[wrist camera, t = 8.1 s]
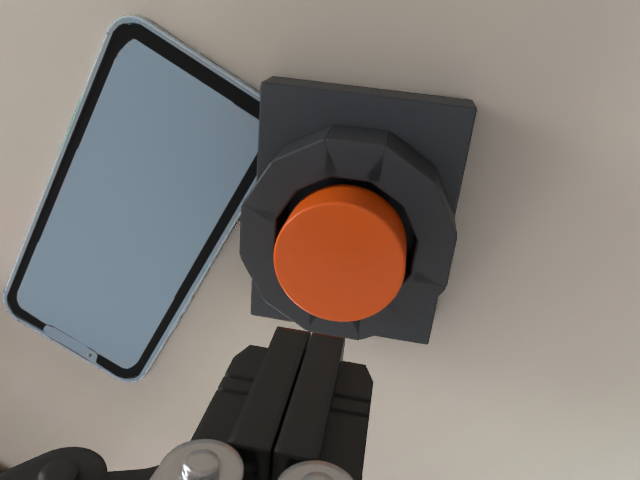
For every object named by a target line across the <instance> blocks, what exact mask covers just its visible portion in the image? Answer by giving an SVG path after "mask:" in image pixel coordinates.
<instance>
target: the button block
mask: <svg viewBox="0 0 640 480" xmlns="http://www.w3.org/2000/svg"><path fill="white" fill-rule="evenodd" d="M476 112H477V109H476V106H475V104H474V102H473V101H472V100H467V99H459V98H451V97H442V96H434V95H426V94H417V93H409V92H400V91H392V90H384V89H375V88H367V87H359V86H350V85H342V84H333V83H325V82H317V81H308V80H300V79H292V78H283V77H275V76H272V77H270V78H268V79H267V80H265V81H263V82H261V90H260V113H259V135H258V158H257V180H256V183H255V185H254V186H253V188H252V189H251V191H250V192H249V194H248V195H247V196H246V198H245V199H244V201H243V204H242V205H241V225H240V255H241V256H240V257H241V259H242V261H243V263H244V265H245V267H246V268H247V270H248V272H249V274H250V276H251V278H252V293H251V315H256V316H262V317H268V318H273V319H279V320H285V321H291V322H295V323H296V324H298V325H299V326H301V327H302V328H303V329H305V330H307V331H309V332H314V333H320V334H326V335H332V336H338V337H343V338H349V339H355V340H359V339H364V338H368V337H371V336H380V337H385V338H391V339H397V340H403V341H409V342H415V343H421V344H428V343H429V338H430V333H431V329H432V324H433V319H434V314H435V309H436V305H437V300H438V296H439V295H440V294H441V293H442V292H443V291H444V290H445V287H446V286H447V283H448V278H449V273H450V269H451V264H452V259H453V255H454V250H455V245H456V241H457V231H456V225H455V213H456V208H457V203H458V198H459V194H460V189H461V184H462V179H463V174H464V170H465V165H466V160H467V155H468V150H469V145H470V141H471V136H472V131H473V126H474V121H475V117H476ZM339 184H347V185H355V186H360V187H363V188H366V189H368V190H371V191H373V192H375V193H376V194H378V195H379V196H381V197H383V198H384V199H385V200H386V201H387V202H388V203H389V204H390V205H391V206H392V207H393V208H394V209H395V211H396V212H397V213H398V215H399V217H400V219H401V221H402V223H403V225H404V228H405V232H406V238H407V251H406V268H405V276H404V280H403V283H402V286H401V288H400V290H399V292H398V293H397V295H396V297H395V298H394V299H393V300H392V301H391V303H389V304H388V305H387V306H386V307H385V308H384V309H382V310H381V311H379V312H378V313H376V314H374V315H372V316H370V317H367V318H365V319H361V320H357V321H349V322H338V321H330V320H326V319H322V318H319V317H316V316H314V315H312V314H310V313H308V312H306V311H305V310H303V309H301V308H300V307H299V306H298V305H296V304H295V303H294V302H293V301H292V300H291V299H290V298H289V297H288V295H287V294H286V293H285V292H284V290H283V288H282V287H281V285H280V283H279V281H278V278H277V276H276V272H275V268H274V257H273V254H274V246H275V243H276V239H277V237H278V235H279V233H280V231H281V229H282V227H283V226H284V224H285V222H286V221H287V219H288V217H289V216H290V214H291V212H292V211H293V209H294V208H295V206H296V205H297V204H298V203H299V202H300V201H301V200H302V199H303V198H304V197H305V196H307V195H308V194H310V193H311V192H313V191H315V190H317V189H320V188H323V187H326V186H331V185H339Z"/></svg>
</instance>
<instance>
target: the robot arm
mask: <svg viewBox="0 0 640 480" xmlns="http://www.w3.org/2000/svg"><path fill="white" fill-rule="evenodd" d="M344 345H345V338H343V337H338V336H332V335H326V334H320V333H314V332H313V333H312V335H311V333H310V332H307V331H302V330H296V329H290V328H284V327H277V329H276V331H275V333H274V336H273V338H272V340H271V342H270V345H269V347H268V348H265V347H259V346H253V345H250V346H248V347H247V348H246V349H244V350H243V351H242V352H240V353H239V354H238V355H236V356H235V357H234V358H233V360H232V362H231V364H230V366H229V367H228V369H227V371H226V373H225V377H223V379H222V381H221V383H220V385H219V387H218V390H217V391H216V393H215V395H214V396H213V398H212V400H211V402H210V404H209V406H208V408H207V410H206V412H205V414H204V416H203V418H202V420H201V422H200V423H199V425H198V427H197V429H196V431H195V433H194V435H193V437H192V439H191V441H189V442H186V443H183V444H181V445H179V446H177V447H176V448H174V449H173V450H171V451H170V452H169V453H168V454H167V455H166V456H165V458H164V459H163V460H162V462H161V463H160V465H158V466H155V467H151V468H147V469H139V470H126V471H113V472H107V467H106V463H105V461H104V459H103V458H102V457H101V456H100V455H99V454H97V453H96V452H94V451H92V450H90V449H86V448H81V447H66V448H60V449H56V450H52V451H50V452H47V453H44V454H42V455H40V456H38V457H35V458H33V459H31V460H29V461H26V462H24V463H22V464H19V465H17V466H15V467H13V468H10V469H8V470H6V471H4V472H1V473H0V480H362V471H363V463H364V454H365V446H366V438H367V429H368V421H369V413H370V404H371V396H372V388H373V381H372V378H371V376H370V374H369V372H368V370H367V368H366V365H363V364H357V363H351V362H345V361H343V353H344Z"/></svg>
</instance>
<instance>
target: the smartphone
mask: <svg viewBox="0 0 640 480" xmlns="http://www.w3.org/2000/svg"><path fill="white" fill-rule="evenodd" d="M259 113H260V92H258V91H257V90H255V89H254V88H252V87H250V86H249V85H248V84H246V83H244V82H243V81H242V80H239V79H238V78H237V77H235V76H234V75H232V74H231V73H229V72H228V71H226V70H224V69H223V68H222V67H220V66H218V65H216V64H215V63H213V62H212V61H210V60H209V59H207V58H206V57H204V56H203V55H202V54H200V53H198V52H197V51H196V50H194V49H193V48H191V47H189V46H188V45H186V44H184V43H182V41H180V40H178V39H177V38H176V37H173V36H172V35H171V34H169V33H167V32H166V31H165V30H163V29H161V28H160V27H159V26H156V25H155V24H154V23H153V22H151V21H150V20H148V19H146V18H144V17H141V16H136V15H129V16H123V17H120V18H118V19H116V20H115V21H114V22H113V23H112V24H111V25H110V26H109V28H108V30H107V33H106V35H105V38H104V40H103V43H102V45H101V48H100V50H99V53H98V55H97V58H96V60H95V63H94V65H93V68H92V70H91V73H90V75H89V78H88V81H87V83H86V86H85V88H84V91H83V93H82V96H81V98H80V101H79V103H78V106H77V108H76V111H75V113H74V116H73V118H72V121H71V123H70V126H69V128H68V131H67V134H66V136H65V139H64V141H63V144H62V146H61V149H60V151H59V154H58V156H57V159H56V161H55V164H54V166H53V169H52V171H51V174H50V176H49V179H48V182H47V184H46V187H45V189H44V192H43V194H42V197H41V199H40V202H39V204H38V207H37V209H36V212H35V214H34V217H33V219H32V222H31V224H30V227H29V229H28V232H27V235H26V237H25V240H24V242H23V245H22V247H21V250H20V252H19V255H18V257H17V260H16V262H15V265H14V267H13V270H12V272H11V275H10V277H9V280H8V282H7V285H6V288H5V290H4V293H3V303H4V306H5V308H6V310H7V312H8V313H9V314H10V315H11V316H12V317H13V318H14V319H15V320H17V321H18V322H20V323H22V324H24V325H25V326H27V327H29V328H30V329H32V330H34V331H36V332H37V333H39V334H41V335H42V336H44V337H46V338H48V339H49V340H51V341H53V342H54V343H56V344H58V345H60V346H61V347H63V348H65V349H66V350H68V351H70V352H71V353H73V354H75V355H77V356H78V357H80V358H82V359H83V360H85V361H87V362H89V363H90V364H92V365H94V366H95V367H97V368H99V369H101V370H102V371H104V372H106V373H107V374H109V375H111V376H112V377H114V378H116V379H118V380H120V381H123V382H127V383H133V382H137V381H139V380H141V379H142V378H143V377H144V376H145V375H146V373H147V372H148V371H149V369H150V368H151V366H152V364H153V363H154V361H155V359H156V358H157V356H158V354H159V353H160V351H161V349H162V348H163V346H164V345H165V343H166V341H167V339H168V337H169V336H170V334H171V333H172V332H173V331H174V329H175V328H176V326H177V324H178V323H179V321H180V319H181V318H182V314H183V313H184V312H185V311H186V309H187V308H188V306H189V304H190V302H191V301H192V299H193V297H194V294H195V292H196V290H197V288H198V287H199V285H200V283H201V282H202V280H203V278H204V277H205V275H206V273H207V272H208V270H209V268H210V267H211V265H212V263H213V261H214V260H215V258H216V256H217V255H218V253H219V251H220V250H221V248H222V246H223V245H224V243H225V241H226V240H227V238H228V236H229V234H230V233H231V231H232V229H233V228H234V226H235V224H236V223H237V221H238V219H239V218H240V216H241V205H242V204H243V201H244V199H245V198H246V196H247V195H248V194H249V192H250V191H251V189H252V188H253V186H254V185H255V183H256V180H257V158H258V135H259Z"/></svg>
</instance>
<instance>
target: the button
mask: <svg viewBox="0 0 640 480" xmlns="http://www.w3.org/2000/svg"><path fill="white" fill-rule="evenodd" d="M406 251H407V238H406V232H405V228H404V225H403V223H402V221H401V219H400V217H399V215H398V213H397V212H396V211H395V209H394V208H393V207H392V206H391V205H390V204H389V203H388V202H387V201H386V200H385V199H384V198H383V197H381V196H379V195H378V194H376V193H375V192H373V191H371V190H368V189H366V188H363V187H360V186H355V185H347V184H339V185H331V186H326V187H323V188H320V189H317V190H315V191H313V192H311V193H310V194H308V195H307V196H305V197H304V198H303V199H302V200H301V201H300V202H299V203H298V204H297V205H296V206H295V208H294V209H293V211H292V212H291V214H290V216H289V217H288V219H287V221H286V222H285V224H284V226H283V227H282V229H281V231H280V233H279V235H278V237H277V239H276V243H275V246H274V254H273V257H274V268H275V272H276V276H277V278H278V281H279V283H280V285H281V287H282V288H283V290H284V292H285V293H286V294H287V295H288V297H289V298H290V299H291V300H292V301H293V302H294V303H295V304H296V305H298V306H299V307H300V308H301V309H303V310H305V311H306V312H308V313H310V314H312V315H314V316H316V317H319V318H322V319H326V320H330V321H338V322H349V321H357V320H361V319H365V318H367V317H370V316H372V315H374V314H376V313H378V312H379V311H381V310H382V309H384V308H385V307H386V306H387V305H388V304H389V303H391V301H392V300H393V299H394V298H395V297H396V295H397V293H398V292H399V290H400V288H401V286H402V283H403V280H404V276H405V268H406Z"/></svg>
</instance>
